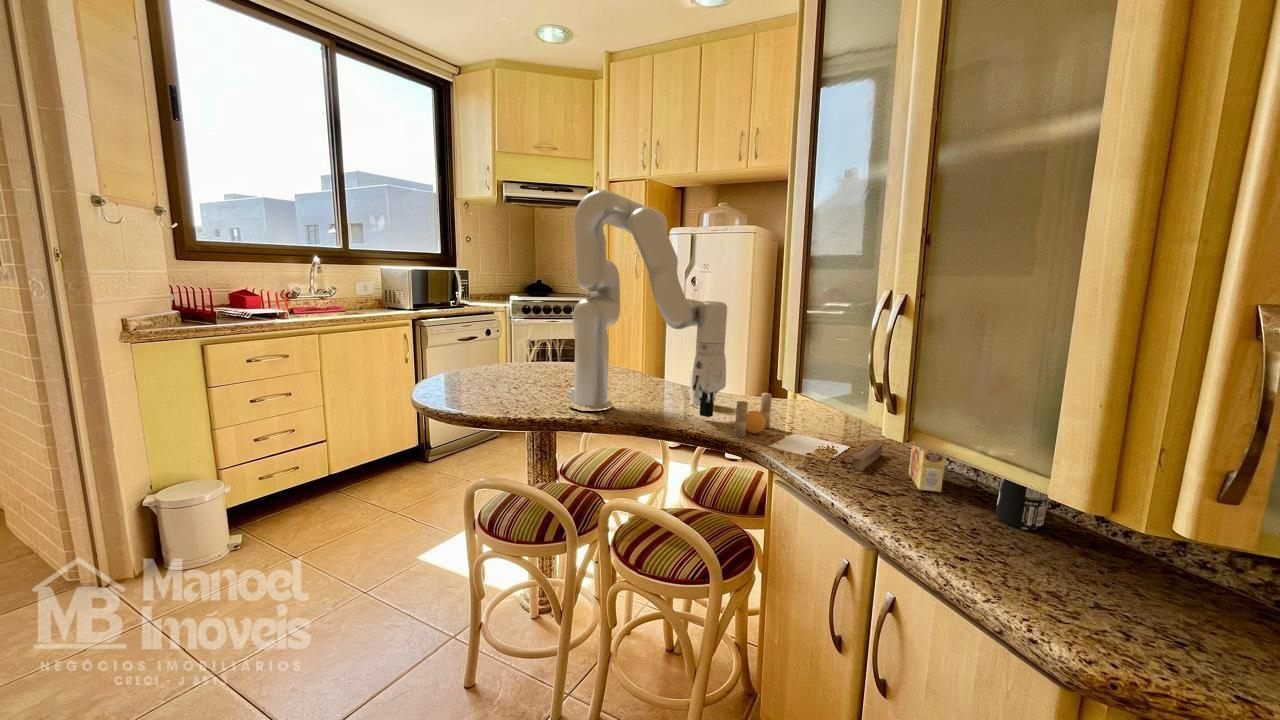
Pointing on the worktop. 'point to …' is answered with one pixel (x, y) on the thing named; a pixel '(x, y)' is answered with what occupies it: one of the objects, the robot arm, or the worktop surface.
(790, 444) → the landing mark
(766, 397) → the post
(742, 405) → the post
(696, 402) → the white cup
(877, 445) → the stopper wall
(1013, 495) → the beverage can
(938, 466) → the candy box
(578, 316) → the robot arm
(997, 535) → the worktop surface
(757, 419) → the ball
